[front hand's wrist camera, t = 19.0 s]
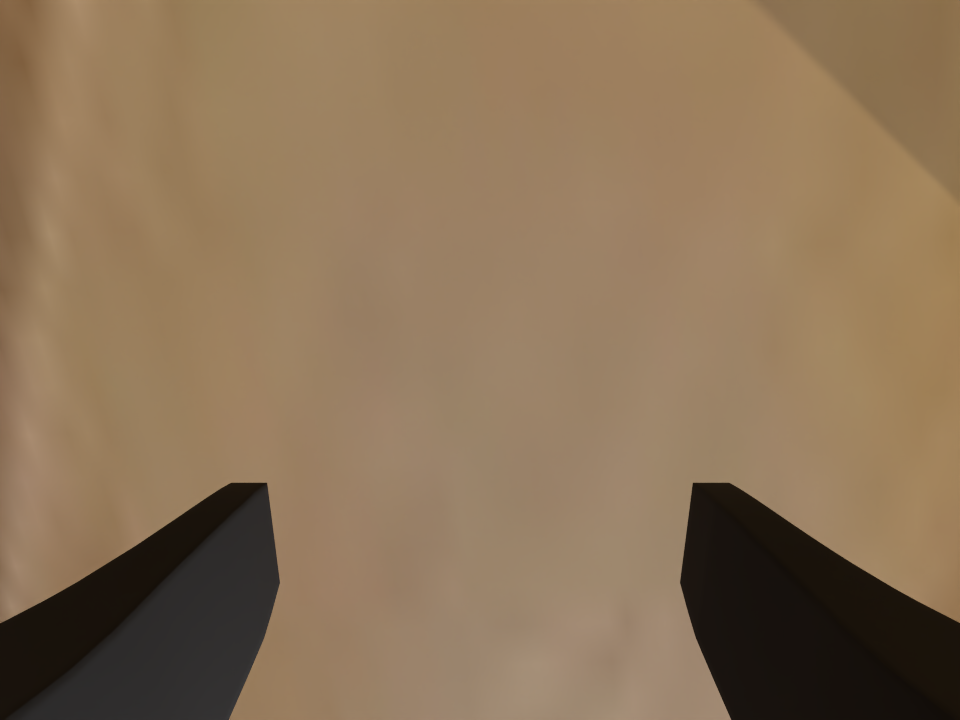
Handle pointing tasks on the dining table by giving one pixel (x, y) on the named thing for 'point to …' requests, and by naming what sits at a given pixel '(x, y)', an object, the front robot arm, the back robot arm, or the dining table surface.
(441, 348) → the dining table surface
